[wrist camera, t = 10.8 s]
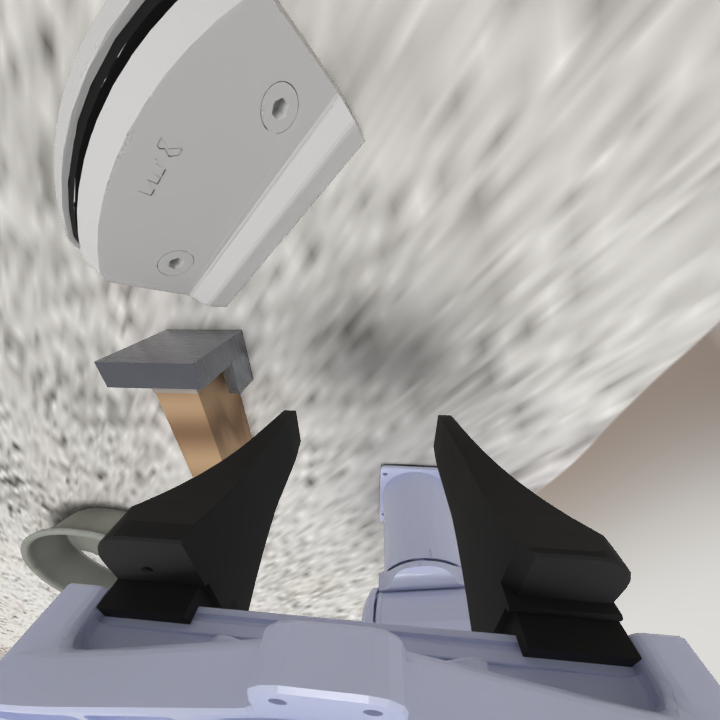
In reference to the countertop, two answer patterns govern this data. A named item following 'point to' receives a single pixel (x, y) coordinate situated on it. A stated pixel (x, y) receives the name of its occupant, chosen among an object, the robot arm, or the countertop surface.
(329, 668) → the robot arm
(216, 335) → the grey metal bench
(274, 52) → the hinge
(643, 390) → the countertop surface
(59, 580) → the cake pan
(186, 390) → the block
